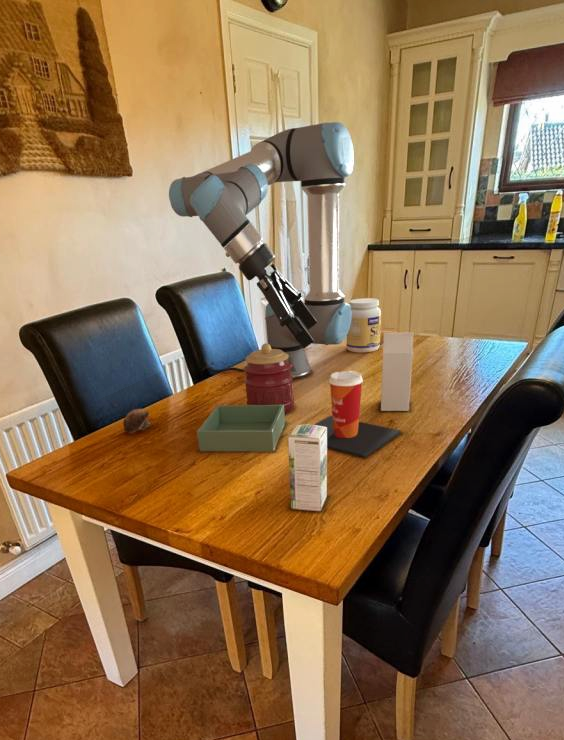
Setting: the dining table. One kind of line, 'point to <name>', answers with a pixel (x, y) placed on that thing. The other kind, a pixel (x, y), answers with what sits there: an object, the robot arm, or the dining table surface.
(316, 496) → the syrup box
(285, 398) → the kitchen canister
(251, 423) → the crate
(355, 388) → the paper cup
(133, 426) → the toy hedgehog
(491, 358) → the dining table surface
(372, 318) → the supplement tub
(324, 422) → the placemat
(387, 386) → the milk carton
